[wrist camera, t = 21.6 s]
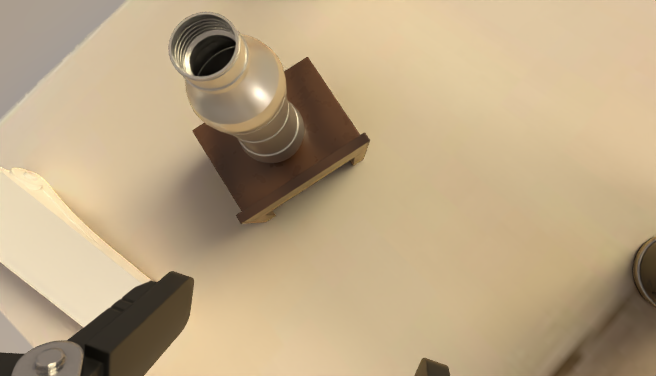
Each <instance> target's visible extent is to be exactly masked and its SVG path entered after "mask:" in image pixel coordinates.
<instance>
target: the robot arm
mask: <svg viewBox="0 0 656 376" xmlns="http://www.w3.org/2000/svg"><path fill="white" fill-rule="evenodd" d="M633 274H634V280H635V283H636V286H637V288H638V290H639V292H640V293H641V295H642V296H643V297H644V298H645V299H646V300H647V301H648V302H649V303H650V304H652V305H653V306H655V307H656V237H654V238H652V239H650V240H648V241H647V242H646V243H645V244H644V245H643V246H642V247H641V248H640V250H639V251H638V253H637V255H636V257H635V260H634V266H633ZM193 287H194V279H193V278H191V277H189V276H186V275H183V274H180V273H177V272H174V271H171V272H169V273H168V274H167V275H165V276H164V277H163V278H162V279H161V280H160V281H158V282H154V281H149V282H146V283H144V284H141V285H139V286H136V287H134V288H133V289H132V290H131V291H129V292H128V293H127V294H125V295H124V296H123V297H122V299H119V300H118V301H117V302H115V303H114V304H113V305H112V306H111V308H108V309H107V310H105V311H104V312H103V313H101V314H100V315H99V316H98V317H96V318H95V319H94V320H93V321H91V322H90V323H89V324H88V325H86V326H85V327H84V328H82V329H81V330H80V331H79V332H77V333H76V334H75V335H74V336H72V337H71V338H70V339H68V340H67V341H53V342H49V343H45V344H42V345H40V346H37V347H35V348H33V349H32V350H30V351H28V352H27V353H26V354H14V353H0V376H144V375H145V374H146V373H147V371H148V370H149V369H150V368H151V367H152V366H153V364H154V363H155V362H156V361H157V360H158V359H159V357H160V356H161V355H162V354H163V353H164V352H165V350H166V349H167V348H168V347H169V346H170V345H171V343H172V342H173V341H174V340H175V339H176V338H177V336H178V335H179V334H180V333H181V332H182V330H183V329H184V327H185V325H186V323H187V321H188V319H189V316H190V310H191V302H192V294H193ZM415 376H450V373H449V368H448V366H447V365H444V364H441V363H438V362H435V361H433V360H430V359H427V358H423V359H422V360H421V362H420V364H419V367H418V369H417V371H416V373H415Z"/></svg>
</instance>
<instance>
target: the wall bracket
mask: <svg viewBox="0 0 656 376" xmlns="http://www.w3.org/2000/svg"><path fill="white" fill-rule="evenodd" d="M0 262H1V263H2V264H3V265H5V266H6V267H7V268H8V269H10V270H11V271H12V272H13V273H15V274H16V275H17V276H19V277H20V278H21V279H22V280H24V281H25V282H26V283H28V284H29V285H30V286H31V287H33V288H34V289H35V290H36V291H38V292H39V293H40V294H42V295H43V296H44V297H45V298H47V299H48V300H49V301H51V302H52V303H53V304H54V305H56V306H57V307H58V308H59V309H61V310H62V311H63V312H65V313H66V314H67V315H68V316H70V317H71V318H72V319H74V320H75V321H76V322H77V323H79V324H80V325H81V326H82V327H85V326H86V325H88V324H89V323H90V322H91V321H93V320H94V319H95V318H96V317H98V316H99V315H100V314H101V313H103V312H104V311H105V310H107V309H108V308H111V306H112V305H113V304H114V303H115V302H117V301H118V300H119V299H122V297H123V296H124V295H125V294H127V293H128V292H129V291H131V290H132V289H133V288H134V287H136V286H139V285H141V284H144V283H146V282H149V281H152V280H151V279H149V278H148V277H147V276H146V275H145V274H143V273H142V272H141V271H140V270H138V269H137V268H136V267H135V266H134V265H132V264H131V263H130V262H129V261H127V260H126V259H125V258H124V257H123V256H121V255H120V254H119V253H118V252H116V251H115V250H114V249H113V248H111V247H110V246H109V245H108V244H107V243H105V242H104V241H103V240H102V239H101V238H100V237H99V236H97V235H96V234H95V233H94V232H93V231H92V230H91V229H90V228H89V227H87V226H86V225H85V224H84V223H83V222H82V221H81V220H80V219H79V218H78V217H77V216H76V215H75V214H74V213H73V212H72V211H71V210H70V209H69V208H68V207H67V205H66V204H65V203H64V202H63V201H62V200H61V199H60V198H59V196H58V195H57V194H56V193H55V192H54V190H53V189H52V188H51V187H50V185H49V184H48V183H47V182H46V181H45V180H44V179H42V178H41V177H40V176H39V175H38V174H36V173H34V172H32V171H29V170H25V169H21V168H12V169H11V170H5V169H4V168H2V167H0Z"/></svg>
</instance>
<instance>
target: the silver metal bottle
mask: <svg viewBox="0 0 656 376" xmlns="http://www.w3.org/2000/svg"><path fill="white" fill-rule="evenodd" d="M169 56H170V60H171V62H172V64H173V65H174V67H175V68H176V70H177V71H178V72H179V73H180V74H181V75H183V77H184V78H185V86H186V92H187V96H188V99H189V102H190V105H191V107H192V109H193V111H194V112H195V114H196V115H197V116H198V117H199V118H200V119H201V120H202V121H203V122H204V123H206V124H207V125H209V126H211V127H212V128H214V129H216V130H218V131H220V132H224V133H227V134H230V135H233V136H235V137H237V138H238V140H239V142H240V144H241V146H242V148H243V149H244V151H245V152H246V153H247V154H248V155H249V156H250V157H252V158H253V159H255V160H257V161H260V162H264V163H278V162H282V161H285V160H286V159H288V158H290V157H291V156H292V155H294V154H295V153H296V151H297V150H298V149H299V147H300V145H301V143H302V140H303V137H304V122H303V118H302V116H301V114H300V112H299V111H298V110H297V109H296V108H295V107H294V105H293V104H291V103H290V102H289V101H288V100H287V96H286V78H285V74H284V70H283V66H282V64H281V62H280V60H279V58H278V56H277V55H276V54H275V53H274V52H273V51H272V49H270V48H269V47H268V46H266V45H265V44H264V43H262V42H261V41H259V40H257V39H255V38H253V37H251V36H247V35H243V34H240V33H239V32H238V31H237V29H236V28H235V26H234V25H233V24H232V23H231V22H230V21H229V20H228V19H227V18H225V17H224V16H222V15H220V14H217V13H213V12H200V13H196V14H193V15H191V16H189V17H187V18H185V19H184V20H183V21H181V22H180V23H179V24H178V25H177V27H176V28H175V29H174V31H173V33H172V35H171V37H170V40H169Z"/></svg>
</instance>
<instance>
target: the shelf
mask: <svg viewBox="0 0 656 376" xmlns="http://www.w3.org/2000/svg"><path fill="white" fill-rule="evenodd" d="M284 74H285V78H286V96H287V100H288V101H289V102H290V103H291V104H293V105H294V107H295V108H296V109H297V110H298V111H299V112H300V114H301V116H302V118H303V122H304V137H303V140H302V143H301V145H300V147H299V149H298V150H297V151H296V153H295V154H294V155H292V156H291V157H290V158H288V159H286V160H285V161H282V162H278V163H264V162H260V161H257V160H255V159H253V158H252V157H250V156H249V155H248V154H247V153H246V152H245V151H244V149H243V148H242V146H241V144H240V142H239V140H238V138H237V137H235V136H233V135H230V134H227V133H224V132H220V131H218V130H216V129H214V128H212V127H211V126H209V125H207V124H206V123H203V124H202V125H200V126H199V127H197V128H196V129H194V130H193V133H194V134H195V136H196V138H197V139H198V141H199V143H200V144H201V146H202V147H203V149H204V151H205V152H206V154H207V156H208V157H209V159H210V160H211V162H212V164H213V165H214V167H215V168H216V170H217V172H218V173H219V175H220V177H221V178H222V180H223V181H224V183H225V185H226V186H227V188H228V190H229V191H230V193H231V194H232V196H233V198H234V199H235V201H236V203H237V204H238V206H239V207H240V209H241V211H242V212H240V213H239V214H237V215H236V216H237V218H238V220H239V221H240V223H241V224H246V223H262V222H267V221H269V220H270V219H272V218H273V217H275V216H276V215H275V213H274V212H273V210H274V209H275V208H277V207H278V206H280V205H282V204H283V203H285V202H286V201H288V200H289V199H291V198H292V197H294V196H296V195H297V194H299V193H300V192H302V191H303V190H305V189H306V188H308V187H309V186H311V185H313V184H314V183H316V182H317V181H319V180H320V179H322V178H323V177H325V176H326V175H328V174H330V173H331V172H333V171H334V170H336V169H337V168H339V167H340V166H342V165H343V164H345V163H347V162H348V161H350V162H351V163H352V165H353V166H354V165H355V164H357V163H359V162H360V161H362V160H363V159H364V156H365V154H366V151H367V148H368V145H369V142H370V139H369V138H368V136H367V135H366V133H363V134H361V135H360V134H359V133H358V131H357V130H356V128H355V127H354V125H353V124H352V122H351V121H350V119H349V118H348V116H347V115H346V113H345V112H344V110H343V109H342V107H341V106H340V104H339V103H338V101H337V100H336V98H335V97H334V95H333V94H332V92H331V91H330V89H329V88H328V86H327V85H326V83H325V82H324V80H323V79H322V77H321V76H320V74H319V73H318V71H317V70H316V68H315V67H314V65H313V64H312V62H311V61H310V59H309V58H308V57H306V58H305V59H303V60H302V61H300V62H298V63H297V64H295V65H294V66H292V67H291V68H289V69H288V70H286V71H284Z"/></svg>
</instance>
